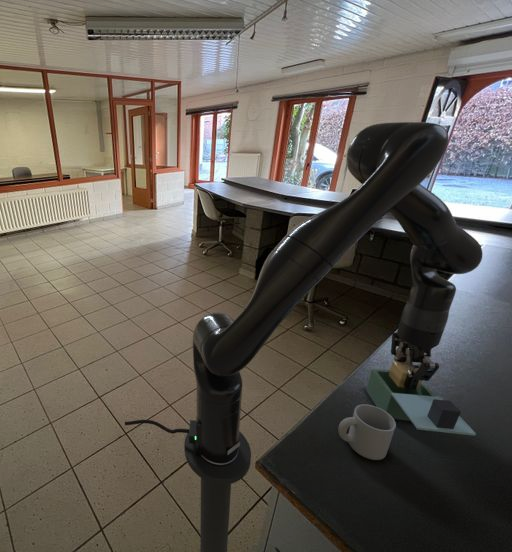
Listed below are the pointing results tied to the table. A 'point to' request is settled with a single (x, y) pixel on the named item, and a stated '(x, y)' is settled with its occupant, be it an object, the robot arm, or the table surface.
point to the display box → (385, 386)
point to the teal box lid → (433, 413)
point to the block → (400, 373)
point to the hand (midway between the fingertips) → (403, 380)
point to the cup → (368, 431)
